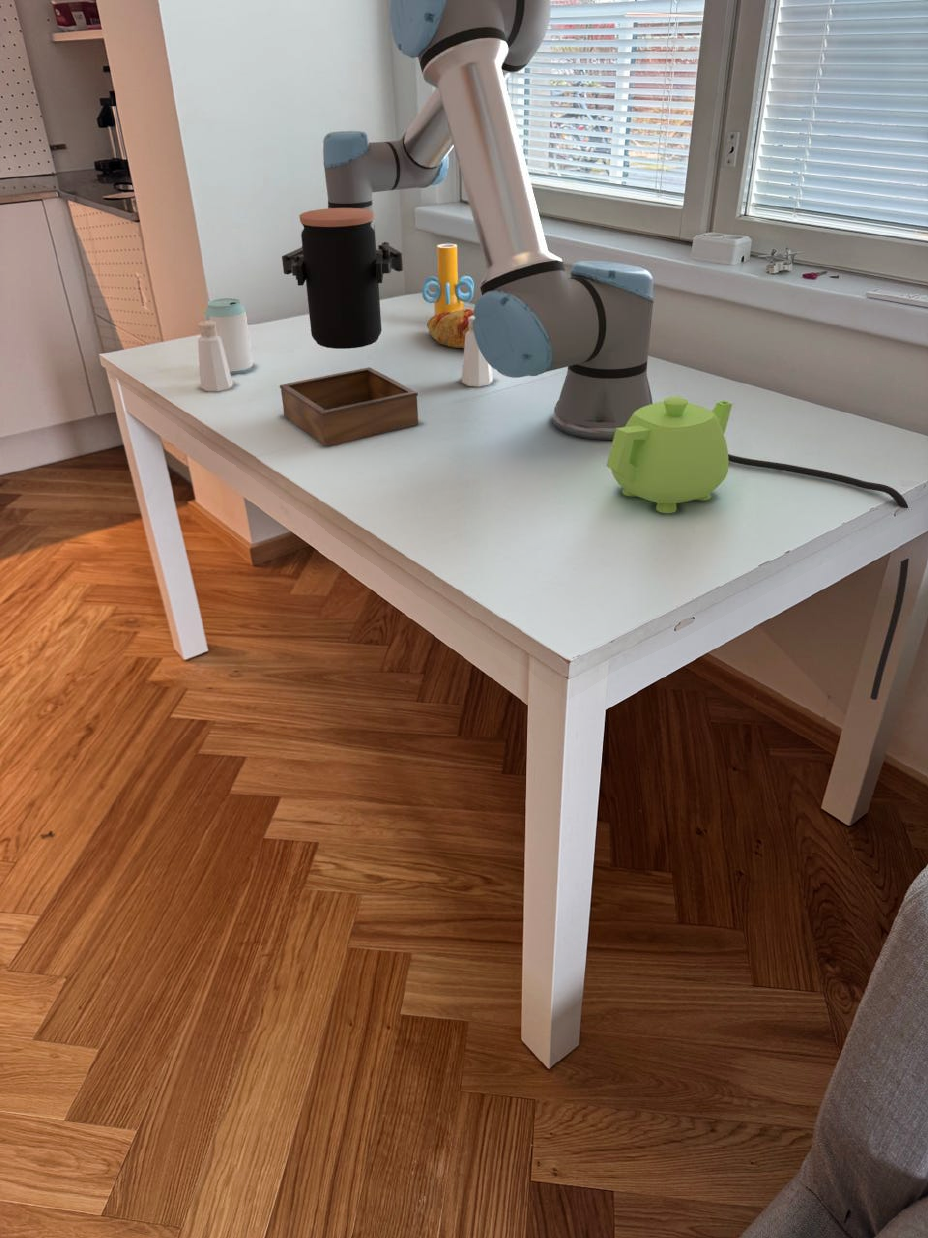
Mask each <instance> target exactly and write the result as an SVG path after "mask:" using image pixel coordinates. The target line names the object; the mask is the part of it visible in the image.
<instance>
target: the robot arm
mask: <svg viewBox="0 0 928 1238" xmlns="http://www.w3.org/2000/svg"><path fill="white" fill-rule="evenodd" d="M551 7H552V5H551V0H390V1H389V20H390V28H391V33H392V38H393V41H394V43H395V45H396V48H397V49H398V50H399V51H400V52H401V53H402V54H403V55H404V56H406V57H408V58H410V59H415V58H417V59H418V62H419V66H420V71H421V73H422V77H423V80H424V81H425V82H426V83H427V84H429V85H431V86H432V87H434V88H435V89H434V90H433V92H432V93H431V94H430V96H429V97H428V98H427V100H426V101H425V103H424V105H423V106H422V108H421V109H420V111H419V112H418V113H417V115H416V117H415V118H414V119H413V121H412V123H411V124H410V125H409V127H408V129H407V130H406V132H405V133H404V134H403V135H402V137H401V138H400V139H399V140H391V141H375V142H370V141H369V136H368V134H367V133H366V132H365V131H359V130H346V131H345V130H343V131H341V130H340V131H332V132H328V133H327V134H326V135H325V136H324V137H323V140H322V143H323V145H322V148H323V149H322V156H323V162H322V163H323V169H324V177H325V186H326V194H327V209H328V208H360V209H367V210H370V211H372V212H373V211H374V209H373V193H379V192H380V193H381V192H386V191H387V192H388V191H397V190H408V189H416V188H417V189H424V188H428V187H430V186H435V185H439V184H441V183H442V182H443V181H445V179H446V177H447V175H448V174H447V173H448V172H447V171H448V170H449V165H450V161H449V154H450V152H451V151H452V150H453V149H454V152H455V157H456V159H457V163H458V166H459V170H460V175H461V178H462V181H463V186H464V189H465V194H466V196H467V201H468V204H469V208H470V212H471V215H472V220H473V222H474V223H473V224H474V227H475V230H476V234H477V238H478V241H479V245H480V249H481V254H482V257H483V260H484V264H485V268H486V270H485V274H484V276H483V278H482V279H481V282H480V284H479V289H480V292H481V296H480V297H479V298H478V300H477V301H476V303H475V305H474V307H473V310H474V312H473V315H474V317H475V319H474V320H473V330H474V335H475V339H476V342H477V345H478V347H479V349H480V351H481V353H482V355H483V357H484V358H485V360H486V361H487V362H488V363H489V365H490V366H491V369H493V370H496V371H497V372H498V373H499V374H500V375H501V376H504V377H507V378H513V379H517V378H518V379H519V378H524V377H537V376H539V375H542V374H544V373H549V372H550V371H551V372H552V371H556V370H560V369H564V368H567V372H566V376H565V379H564V381H563V383H562V387H561V390H560V394H559V397H558V400H557V401H556V403H555V406H554V409H553V423H554V426H555V427H556V428H558V429H559V430H560V431H562V432H564V433H567V434H568V435H571V436H574V437H578V438H583V439H590V440H603V441H606V440H607V441H609V440H610V441H611V440H612V441H613V438H614V435H615V431H616V428H621V427H625V426H626V424H627V422H628V421H629V419H630V418H631V416H632V415H633V413H634V412H635V411H637V410H638V409H640V408H642V407H645V406H647V405H650V404H654V403H653V397H652V392H651V387H650V383H649V378H648V373H647V370H648V358H649V350H650V349H649V348H650V338H651V329H652V318H653V317H652V316H653V307H654V303H655V298H654V278H653V275H652V274H651V272H649V270H647V269H645V268H643V267H640V266H636V265H631V264H626V263H619V262H612V261H611V262H610V261H598V260H579V261H575V262H574V263H573V264H572V266H571V270H570V271H569V275H570V277H568V276H567V273H566V269H565V266H564V262H563V259H562V258H560V257H559V256H557V255H555V254H554V253H552V252H550V251H549V249H548V245H547V241H546V237H545V233H544V229H543V226H542V221H541V218H540V217H541V216H540V214H539V210H538V206H537V202H536V199H535V195H534V191H533V186H532V183H531V179H530V174H529V171H528V166H527V164H526V163H527V162H526V159H525V156H524V151H523V147H522V144H521V140H520V137H519V132H518V128H517V124H516V120H515V116H514V112H513V108H512V105H511V104H512V103H511V100H510V96H509V93H508V89H507V86H506V80H507V79H508V78H509V76H510V75H511V74H515V73H519V72H521V71H523V70H524V69H525V67H526V66H527V65H528V64H529V63H530V61H531V60H532V59H533V57H534V56H535V54H536V53H537V52H538V50H539V49H540V47H541V45H542V43H543V41H544V39H545V37H546V34H547V32H548V28H549V24H550V20H551V9H552V8H551ZM373 213H374V212H373ZM371 227H372V228H373V229H374V231H375V232H376V223H374V220H372V223H371ZM376 253H377V258H376V279H377V283H378V284H383V278H384V274H390V273H391V272H392V270H394V271H396V272H402V271H404V263H403V262H404V261H403V260H404V259H403V252H401V251H400V250H398V249H396V248H394V247H392V246H391V245H390V242H387V241H384V242H381V243H379V244H378V245H377V247H376ZM281 261H282V268H283V269H282V270H283V274H284V275H290V274H291V275H292V276H293V277H295V280H296V281H297V286H304V284H305V283H306V276H305V267H304V258H303V248H302V246H301V247H299V248H296V249H295V250H292V251H290V252H289V253H286V254H284V255H282V256H281ZM728 462H730V463H735V464H740V465H744V466H749V467H756V468H763V469H770V470H777V471H784V472H789V473H793V474H799V475H805V476H810V477H816V478H819V479H820V478H821V479H826V480H829V481H835V482H839V483H843V484H846V485H850V486H853V487H857V488H861V489H865V490H870V491H876V492H881V493H885V494H887V495H889V496H890V497H891V498H892V499H893V501H895V502H896V504H897V505H898V507H900V508H903V509H909V505H908V503H907V501H906V499H905V498H904V497H903V496H902V494H901V493H899V491H898V490H896V489H895V488H893V487H892V486H889V485H886V484H882V483H878V482H877V483H876V482H871V481H866V480H861V479H859V478H855V477H852V476H847V475H844V474H838V473H834V472H830V471H824V470H819V469H815V468H809V467H804V466H798V465H793V464H787V463H781V462H775V461H768V460H767V461H766V460H760V459H753V458H748V457H743V456H737V455H734V454H729V453H728ZM909 561H910V559H909V558H906V559H904V560H901V561H900V566H899V574H898V575H899V577H898V583H897V590H896V594H895V599H894V600H895V601H894V605H893V609H892V613H891V617H890V621H889V622H890V623H889V625H888V628H887V633H886V635H885V639H884V642H883V646H882V649H881V654H880V656H879V661H878V664H877V668H876V671H875V674H874V679H873V684H872V689H871V691H870V692H871V693H870V697H869V698H870V699H871V700H873V701H876V700H878V697H879V692H880V687H881V683H882V680H883V676H884V672H885V668H886V664H887V662H888V661H887V660H888V657H889V653H890V651H891V647H892V643H893V640H894V638H895V637H894V636H895V633H896V630H897V627H898V622H899V620H900V619H899V618H900V615H901V611H902V605H903V601H904V597H905V591H906V590H905V589H906V585H907V578H908V572H909V571H908V569H909Z"/></svg>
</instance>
